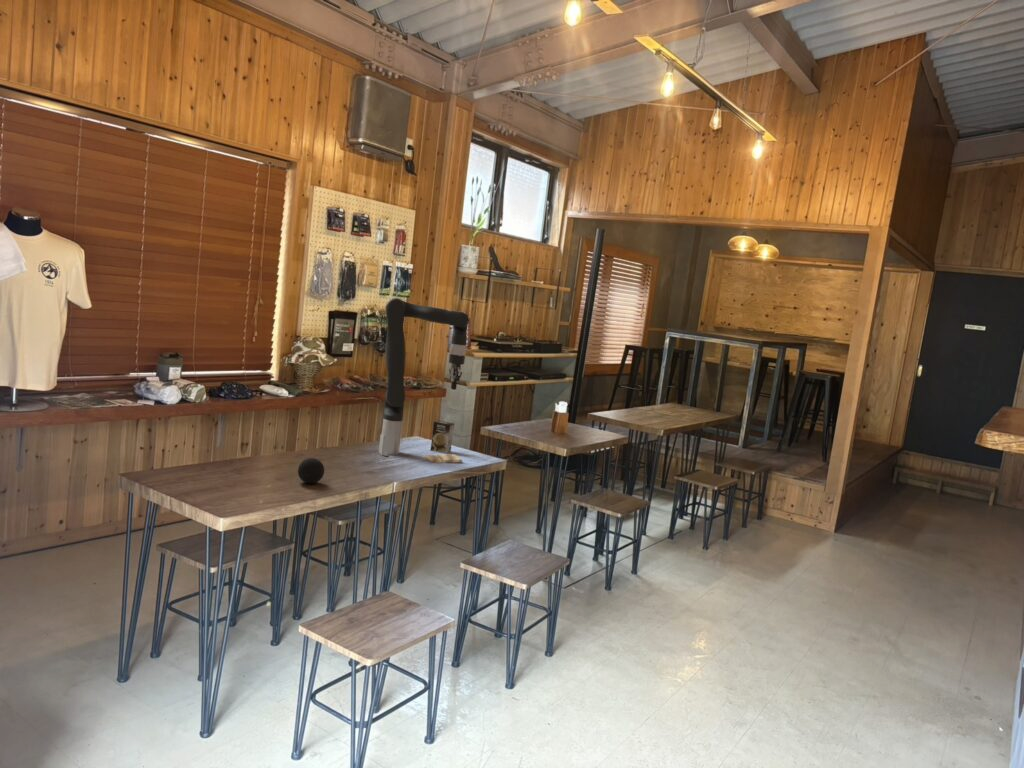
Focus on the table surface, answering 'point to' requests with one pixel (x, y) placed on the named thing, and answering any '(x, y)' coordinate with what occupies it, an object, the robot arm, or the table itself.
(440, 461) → the plank
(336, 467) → the table surface
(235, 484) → the table surface
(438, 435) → the coffee box
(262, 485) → the table surface
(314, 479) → the speaker
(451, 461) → the loose plank
